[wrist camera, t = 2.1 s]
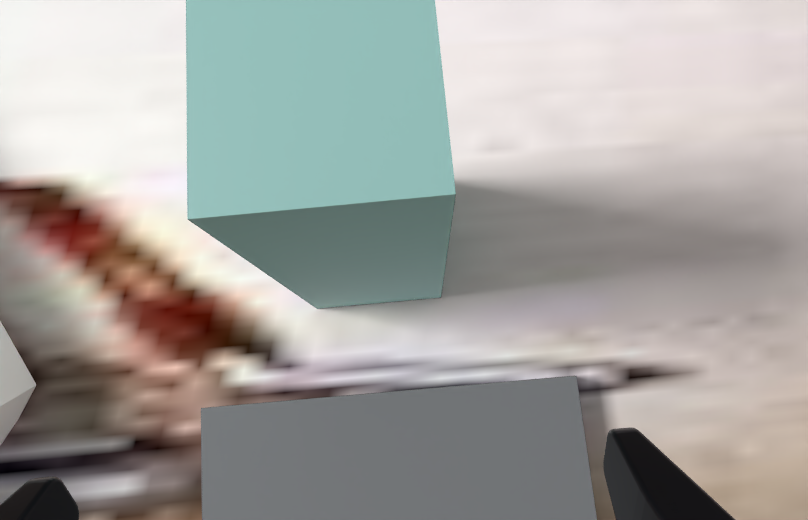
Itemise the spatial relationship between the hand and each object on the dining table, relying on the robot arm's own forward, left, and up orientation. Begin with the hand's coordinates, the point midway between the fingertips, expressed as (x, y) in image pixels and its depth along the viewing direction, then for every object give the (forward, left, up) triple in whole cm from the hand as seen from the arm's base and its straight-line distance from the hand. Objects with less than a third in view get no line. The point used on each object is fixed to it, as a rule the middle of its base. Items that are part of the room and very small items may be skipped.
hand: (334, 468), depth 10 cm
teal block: (+3, -7, -13) cm, 15 cm away
